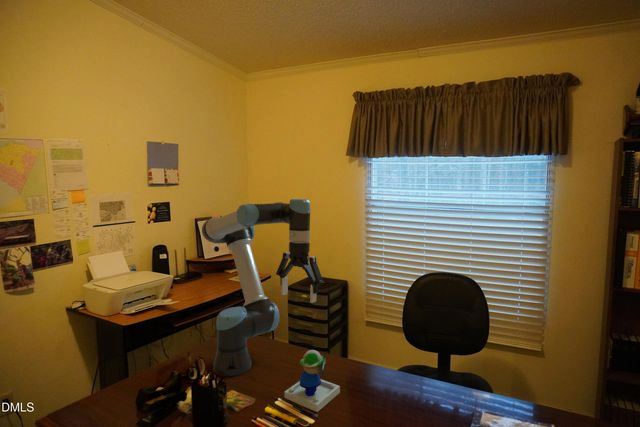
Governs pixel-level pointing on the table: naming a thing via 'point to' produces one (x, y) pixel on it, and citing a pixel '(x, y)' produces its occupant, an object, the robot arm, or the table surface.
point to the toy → (312, 371)
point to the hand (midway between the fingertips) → (298, 298)
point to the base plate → (316, 401)
